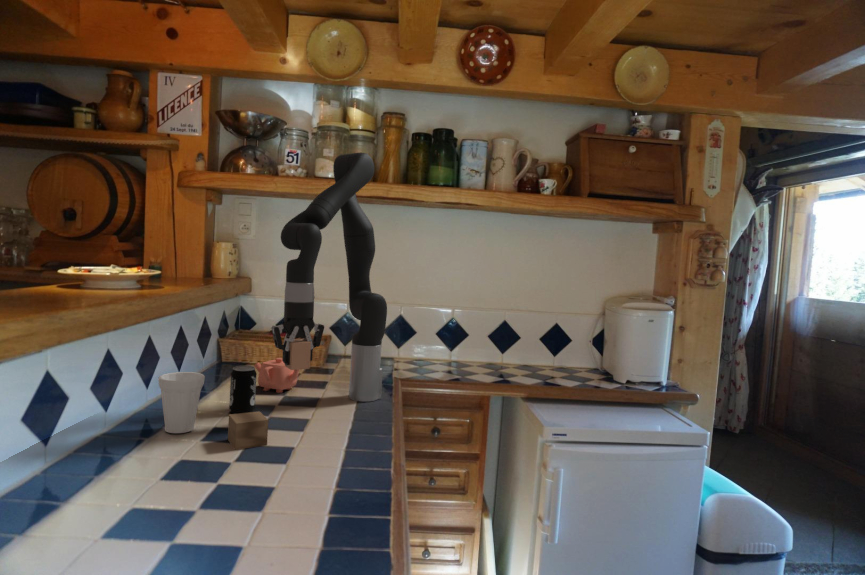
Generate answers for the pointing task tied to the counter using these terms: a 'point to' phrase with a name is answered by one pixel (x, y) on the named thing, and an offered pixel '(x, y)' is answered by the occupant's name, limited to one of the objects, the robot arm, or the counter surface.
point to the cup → (180, 399)
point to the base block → (247, 430)
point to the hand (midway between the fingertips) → (297, 363)
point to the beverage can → (242, 389)
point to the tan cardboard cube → (299, 355)
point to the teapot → (276, 375)
